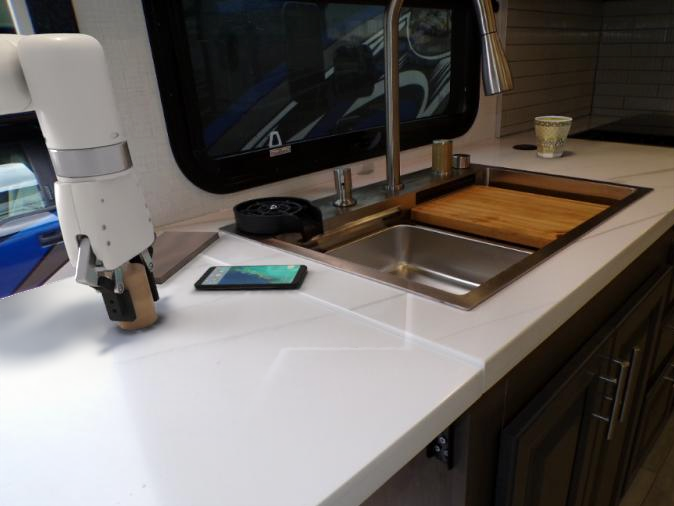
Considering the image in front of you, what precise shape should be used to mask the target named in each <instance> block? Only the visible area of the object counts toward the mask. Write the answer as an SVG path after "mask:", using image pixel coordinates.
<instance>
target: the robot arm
mask: <svg viewBox="0 0 674 506" xmlns="http://www.w3.org/2000/svg"><path fill="white" fill-rule="evenodd" d="M32 111H34V112H35V114H36V117H37V120H38V123H39V127H40V130H41V132H42V136H43V139H44V143H45V145H46V148H47V151H48V154H49V157H50V160H51V164H52V166H53V170H54V172H55V176H56V179H57V180H56V181H55V182H54V183H53V187H54V189H53V190H54V199H55V207H56V214H57V218H58V223H59V226H60V231H61V235H62V239H63V243H64V247H65V250H66V254H67V257H68V259H69V262H70V264H71V266H72V268H73V269H75V276H74V277H75V278H74V280H75V282H76V283H77V284H80V285H85V286H87V287H90V288H92V289H93V290H95V292H96V293H98V294H101V297H102V300H103V305H104V306H105V309H106V313H107V317H108V319H109V321H111V322H118V321H121V322H133V321H135V320H136V318H137V317H136V313H135V309H134V306H133V302H132V299H131V295H130V292H129V290H124V283H123V275H122V267H121V265H122V264H124V263H126V264H128V263H139V264H142V265H144V267H145V271H146V274H147V278H148V282H149V286H150V289H151V293H152V297H153V301H154V303H156V302H158V301H159V300H160V294H159V291H158V287H157V284H156V283H155V279H154V275H153V272H150V271H152V270H153V269H154V263H153V261H152V256H153V247H154V244H155V241H156V238H157V237H158V236H157V233H156V232H155V231H154V225H153V221H152V217H151V214H150V210H149V206H148V204H147V200H146V197H145V195H144V192H143V189H142V186H141V183H140V182H139V178H138V176H137V174H136V171H135V168H134V163H133V159H132V156H131V152H130V148H129V144H128V140H127V136H126V132H125V128H124V124H123V120H122V116H121V112H120V108H119V105H118V100H117V96H116V93H115V89H114V85H113V81H112V76H111V74H110V70H109V65H108V62H107V58H106V54H105V51H104V48H103V46H102V44H101V42H99V40H98V39H97V38H95V37H94V36H93V35H89V34H84V33H39V34H37V33H36V34H35V33H34V34H28V35H27V34H14V33H0V116H4V115H9V114H18V113H19V114H20V113H25V112H32ZM104 272H111V275H112V280H111V279H109V278H107V277H105V273H104Z"/></svg>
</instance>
